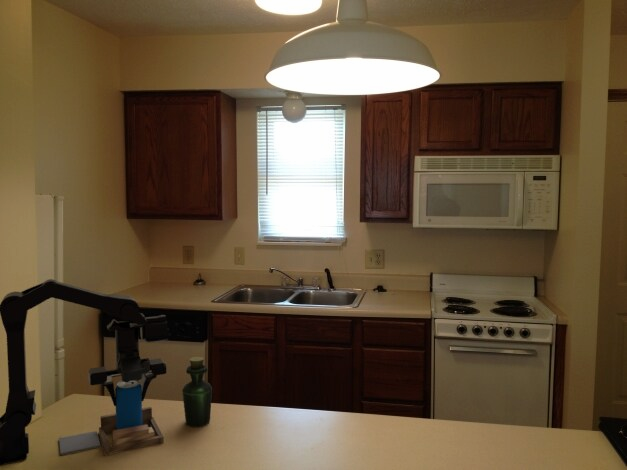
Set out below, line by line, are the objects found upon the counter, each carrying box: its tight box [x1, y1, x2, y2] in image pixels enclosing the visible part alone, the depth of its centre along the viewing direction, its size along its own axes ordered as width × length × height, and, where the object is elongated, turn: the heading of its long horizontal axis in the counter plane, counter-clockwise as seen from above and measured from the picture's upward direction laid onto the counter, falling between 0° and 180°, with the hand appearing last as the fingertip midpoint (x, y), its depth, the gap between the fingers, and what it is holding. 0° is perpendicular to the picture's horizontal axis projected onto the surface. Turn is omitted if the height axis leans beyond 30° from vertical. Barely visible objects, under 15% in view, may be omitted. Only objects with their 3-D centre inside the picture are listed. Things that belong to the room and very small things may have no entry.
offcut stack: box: [110, 425, 156, 446], centre depth 132 cm, size 10×4×4 cm, turn 118°
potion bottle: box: [181, 356, 213, 428], centre depth 144 cm, size 8×8×18 cm
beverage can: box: [114, 380, 143, 429], centre depth 136 cm, size 6×6×12 cm
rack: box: [98, 406, 165, 456], centre depth 135 cm, size 14×14×4 cm
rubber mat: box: [58, 430, 102, 456], centre depth 132 cm, size 9×9×1 cm
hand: (128, 403), depth 136 cm, fingers closed on beverage can, 6 cm apart
